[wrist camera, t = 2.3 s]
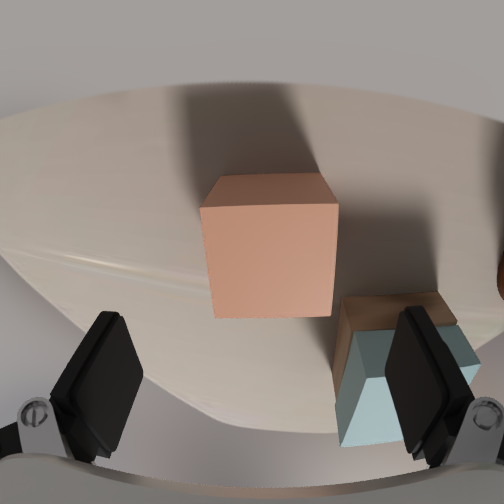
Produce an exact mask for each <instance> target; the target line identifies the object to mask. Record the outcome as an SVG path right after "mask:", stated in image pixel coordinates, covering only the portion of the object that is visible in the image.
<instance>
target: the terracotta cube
mask: <svg viewBox="0 0 504 504" xmlns="http://www.w3.org/2000/svg"><path fill="white" fill-rule="evenodd" d="M338 211H339V203H338V201H337V200H336V198H335V196H334V195H333V193H332V191H331V190H330V188H329V186H328V185H327V183H326V181H325V180H324V178H323V176H322V175H321V173H274V174H247V175H226V176H220V177H219V179H218V180H217V182H216V183H215V185H214V186H213V188H212V189H211V191H210V192H209V194H208V195H207V197H206V199H205V200H204V202H203V203H202V205H201V206H200V215H201V223H202V231H203V238H204V246H205V254H206V261H207V268H208V275H209V282H210V289H211V296H212V303H213V309H214V316H215V318H289V317H322V316H331V310H332V300H333V289H334V277H335V264H336V249H337V232H338Z"/></svg>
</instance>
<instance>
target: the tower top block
mask: <svg viewBox="0 0 504 504" xmlns="http://www.w3.org/2000/svg"><path fill="white" fill-rule="evenodd" d="M436 329H437V331H438V332H439V334H440V336H441V338H442V339H443V341H444V342H445V343H446V344H447V345H448V347H449V349H450V351H451V353H452V354H453V356H454V358H455V360H456V362H457V364H458V366H459V368H460V370H461V371H462V373H463V375H464V377H465V379H466V381H467V383H468V385H469V384H470V383H471V381H472V379H473V378H474V376H475V374H476V372H477V371H478V369H479V367H480V365H481V363H480V361H479V359H478V357H477V356H476V354H475V352H474V350H473V349H472V347H471V345H470V344H469V342H468V340H467V339H466V337H465V335H464V334H463V332H462V330H461V329H460V327H459V326H458V325H452V326H441V327H436ZM394 333H395V330H377V331H354V334H353V339H352V343H351V347H350V351H349V355H348V359H347V363H346V367H345V371H344V375H343V379H342V382H341V386H340V389H339V393H338V397H337V400H336V403H335V410H336V418H337V426H338V434H339V442H340V447H350V446H361V445H369V444H378V443H386V442H392V441H400V440H404V439H403V435H402V431H401V428H400V424H399V421H398V417H397V414H396V410H395V407H394V403H393V400H392V397H391V394H390V390H389V387H388V384H387V381H386V378H385V365H386V361H387V358H388V354H389V351H390V347H391V344H392V340H393V336H394Z"/></svg>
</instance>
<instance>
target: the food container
mask: <svg viewBox="0 0 504 504" xmlns="http://www.w3.org/2000/svg"><path fill="white" fill-rule="evenodd" d="M497 287H498V291H499V294H500V296H501V297H502V299H503V300H504V252H503V255H502V258H501V261H500V264H499V267H498V275H497Z"/></svg>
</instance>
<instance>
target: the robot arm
mask: <svg viewBox="0 0 504 504" xmlns="http://www.w3.org/2000/svg"><path fill="white" fill-rule="evenodd" d="M142 378H143V369H142V366H141V364H140V361H139V358H138V356H137V353H136V351H135V348H134V345H133V342H132V340H131V337H130V334H129V331H128V329H127V326H126V323H125V320H124V318H123V317H122V316H120V315H119V313H118V312H112V311H102V312H101V313H100V314H99V316H98V317H97V319H96V320H95V322H94V323H93V325H92V326H91V328H90V329H89V331H88V332H87V334H86V335H85V337H84V339H83V340H82V342H81V343H80V345H79V347H78V348H77V350H76V351H75V353H74V355H73V356H72V358H71V359H70V361H69V363H68V364H67V366H66V368H65V369H64V371H63V373H62V374H61V376H60V378H59V379H58V381H57V383H56V385H55V386H54V388H53V390H52V392H51V393H50V395H51V398H50V399H49V401H48V400H47V399H45V398H42V397H35V398H31V399H30V400H28V401H26V402H25V403H24V404H23V405H22V406H21V408H20V409H19V411H18V414H17V422H14V423H12V424H10V425H8V426H5V427H3V428H1V429H0V504H504V407H503V406H502V405H501V404H500V403H499V402H498V401H497V400H495V399H493V398H490V397H480V398H477V399H475V398H474V396H473V393H472V391H471V390H470V388H469V385H468V383H467V381H466V379H465V377H464V375H463V373H462V371H461V370H460V368H459V366H458V364H457V362H456V360H455V358H454V356H453V354H452V353H451V351H450V349H449V347H448V345H447V344H446V343H445V342H444V341H443V339H442V338H441V336H440V334H439V332H438V331H437V329H436V327H435V325H434V324H433V322H432V320H431V318H430V317H429V315H428V313H427V312H426V310H425V308H424V307H423V306H422V305H416V306H407V307H405V309H404V311H401V312H400V313H399V317H398V321H397V325H396V329H395V333H394V336H393V340H392V344H391V347H390V351H389V354H388V358H387V361H386V365H385V378H386V381H387V384H388V387H389V390H390V394H391V397H392V400H393V403H394V407H395V410H396V414H397V417H398V421H399V424H400V428H401V431H402V435H403V439H404V442H405V446H406V450H407V452H408V453H409V454H410V453H412V456H413V459H414V461H415V460H419V459H423V458H425V459H426V462H427V464H428V466H427V468H426V469H425V470H421V471H417V472H412V473H407V474H403V475H397V476H392V477H386V478H380V479H373V480H367V481H360V482H353V483H345V484H335V485H324V486H311V487H292V488H291V487H289V488H246V487H226V486H212V485H201V484H192V483H183V482H175V481H169V480H162V479H156V478H151V477H145V476H140V475H135V474H130V473H125V472H121V471H116V470H112V469H108V468H103V467H99V466H96V463H95V461H94V460H95V457H96V455H97V456H102V457H105V458H110V456H111V453H112V452H114V451H115V450H116V449H117V446H118V444H119V441H120V438H121V435H122V432H123V429H124V427H125V424H126V421H127V418H128V416H129V413H130V410H131V408H132V405H133V402H134V400H135V397H136V394H137V392H138V389H139V386H140V384H141V381H142Z"/></svg>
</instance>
